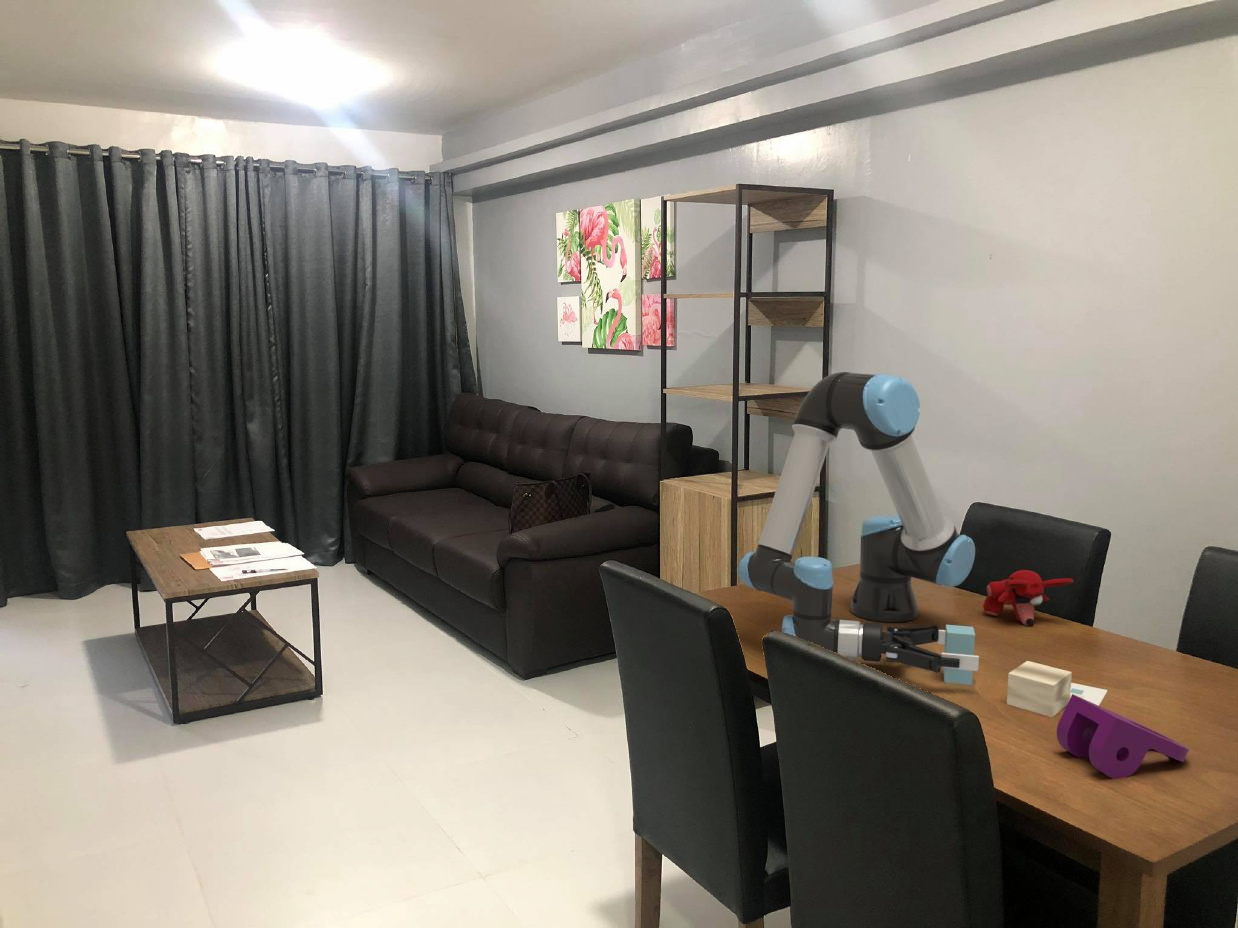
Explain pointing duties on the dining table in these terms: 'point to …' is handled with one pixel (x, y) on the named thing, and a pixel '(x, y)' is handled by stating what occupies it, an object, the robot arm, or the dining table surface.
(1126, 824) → the dining table surface
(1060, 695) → the birch base brick
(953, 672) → the teal brick
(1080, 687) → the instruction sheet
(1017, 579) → the toy
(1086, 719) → the mounting bracket
